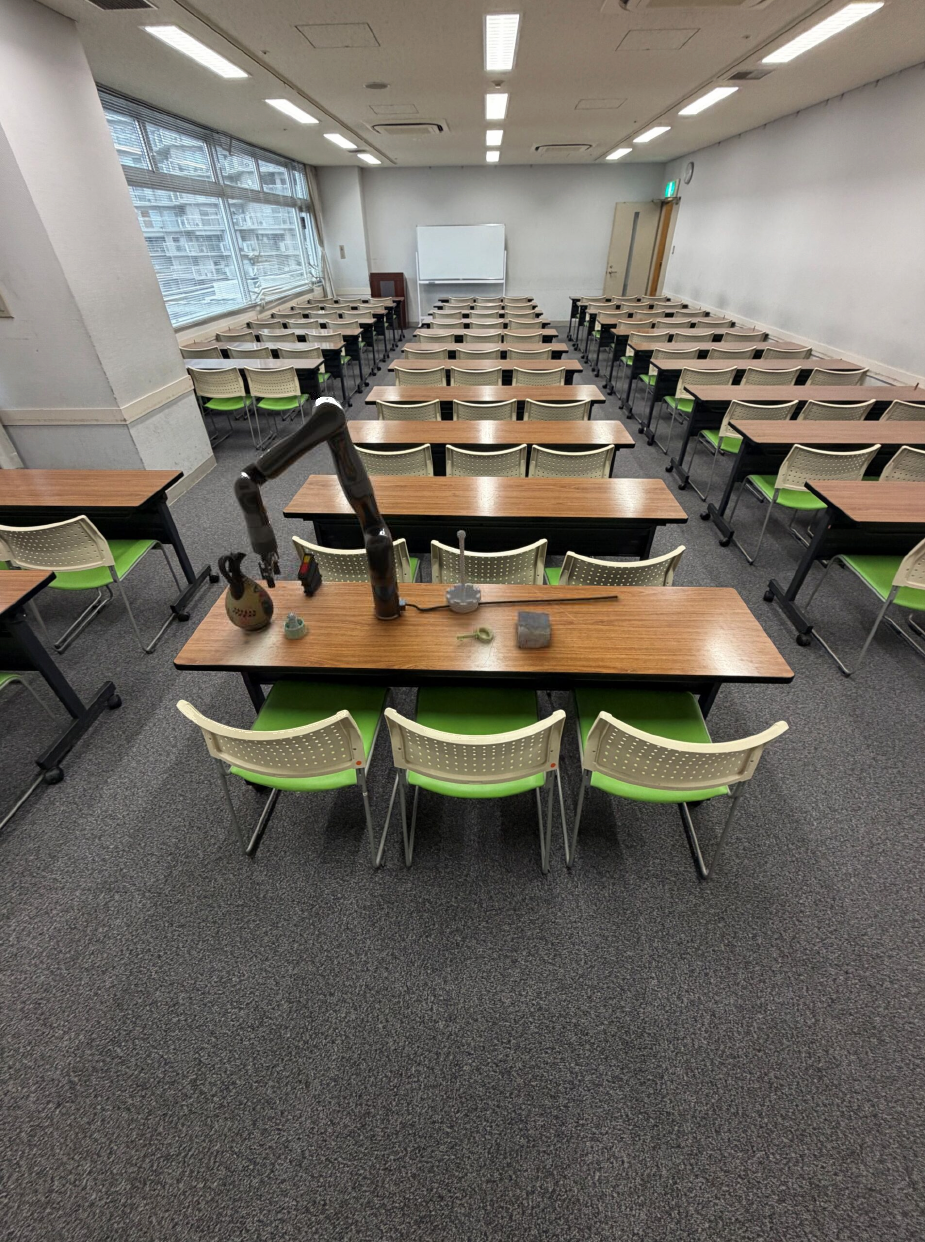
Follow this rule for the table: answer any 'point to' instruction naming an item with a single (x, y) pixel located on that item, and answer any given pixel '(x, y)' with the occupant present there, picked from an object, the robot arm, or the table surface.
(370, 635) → the table surface
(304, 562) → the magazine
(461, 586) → the flag stand
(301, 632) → the cup
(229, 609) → the ceramic jug
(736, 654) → the table surface
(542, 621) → the geological specimen
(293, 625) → the rook chess piece
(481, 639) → the key
